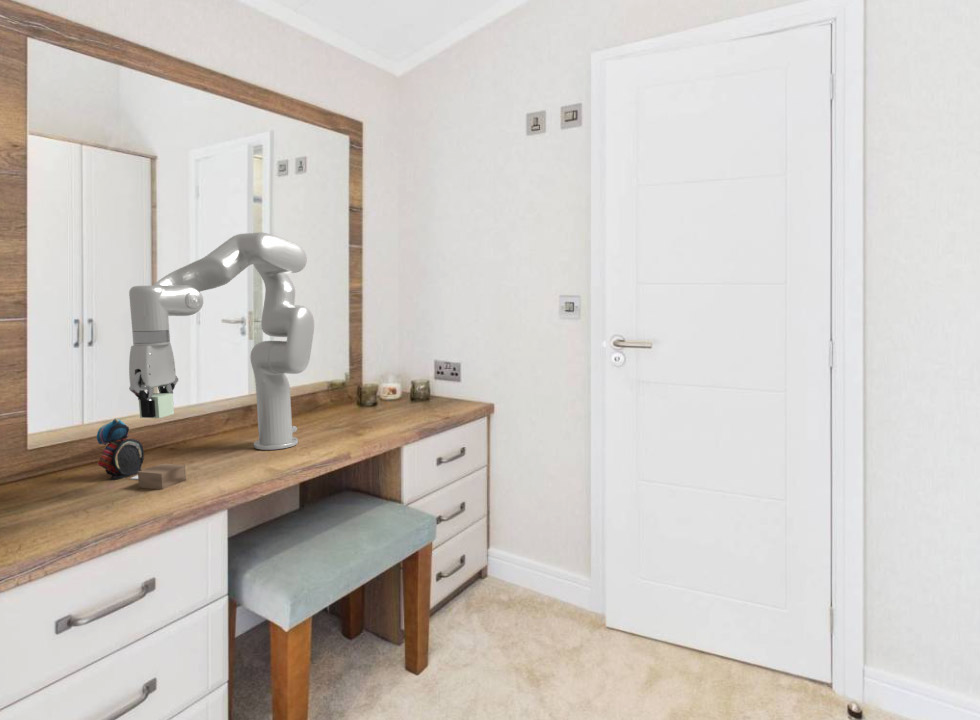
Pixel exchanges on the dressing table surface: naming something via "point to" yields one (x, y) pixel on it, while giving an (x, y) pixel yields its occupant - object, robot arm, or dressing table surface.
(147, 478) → the walnut base
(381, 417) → the dressing table surface
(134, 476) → the tile
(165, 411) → the sage cube
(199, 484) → the dressing table surface
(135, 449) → the figurine
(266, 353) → the robot arm
